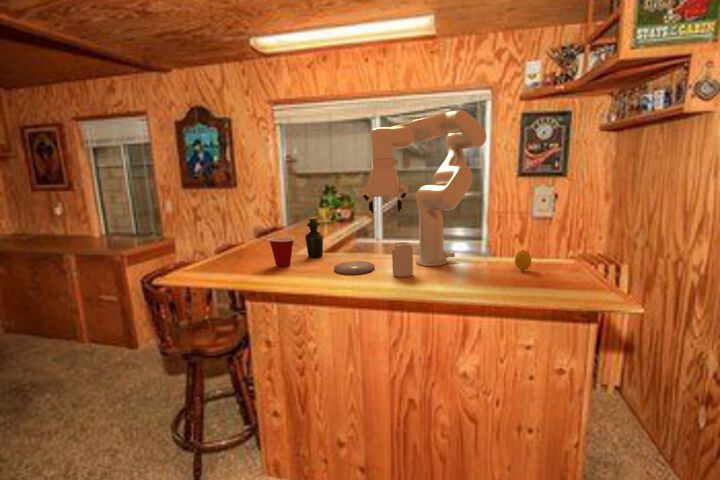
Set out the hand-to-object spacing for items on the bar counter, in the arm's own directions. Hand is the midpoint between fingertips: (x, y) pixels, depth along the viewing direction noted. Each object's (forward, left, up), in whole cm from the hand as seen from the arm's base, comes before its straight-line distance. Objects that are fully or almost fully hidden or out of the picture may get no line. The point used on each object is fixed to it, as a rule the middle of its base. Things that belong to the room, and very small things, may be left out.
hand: (385, 212), depth 142 cm
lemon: (-48, +11, -24) cm, 55 cm away
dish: (+11, -11, -24) cm, 28 cm away
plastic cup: (+39, -26, -24) cm, 53 cm away
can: (-5, +3, -24) cm, 24 cm away
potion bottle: (+25, -38, -24) cm, 51 cm away
